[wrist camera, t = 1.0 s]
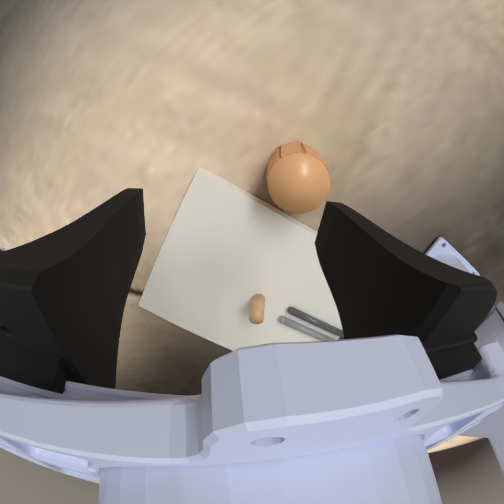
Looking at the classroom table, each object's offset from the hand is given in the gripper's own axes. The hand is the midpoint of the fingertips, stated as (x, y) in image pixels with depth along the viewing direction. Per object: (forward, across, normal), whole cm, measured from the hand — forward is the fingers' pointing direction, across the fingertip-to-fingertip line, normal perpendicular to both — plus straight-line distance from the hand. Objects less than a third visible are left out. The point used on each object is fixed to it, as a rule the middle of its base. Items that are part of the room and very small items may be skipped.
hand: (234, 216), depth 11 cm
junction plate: (+12, -5, +16) cm, 20 cm away
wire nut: (+13, -6, +2) cm, 14 cm away
